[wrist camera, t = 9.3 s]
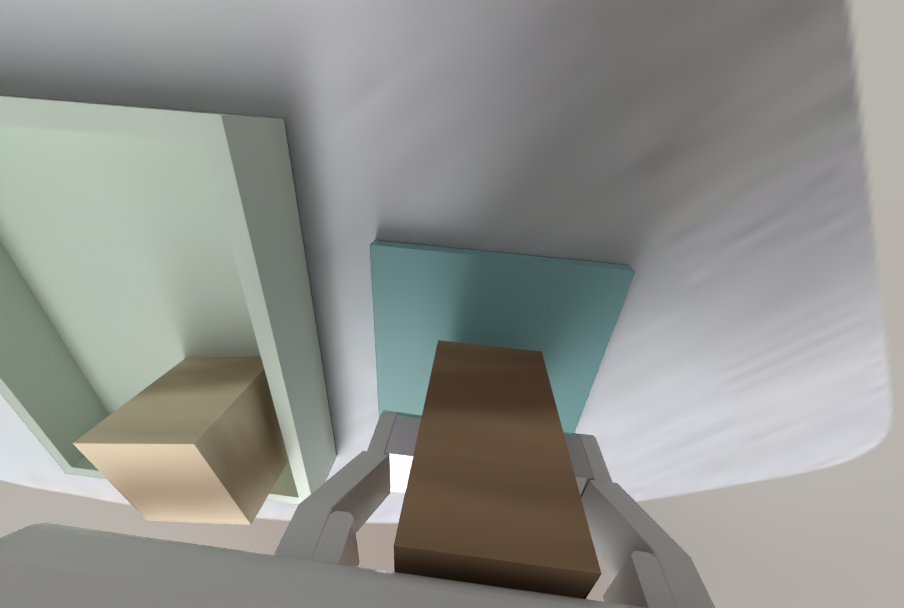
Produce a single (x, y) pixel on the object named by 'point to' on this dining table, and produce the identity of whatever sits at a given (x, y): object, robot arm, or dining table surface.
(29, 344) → the parts tray
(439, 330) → the teal coaster
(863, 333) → the dining table surface
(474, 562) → the walnut block
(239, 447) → the beech cube
